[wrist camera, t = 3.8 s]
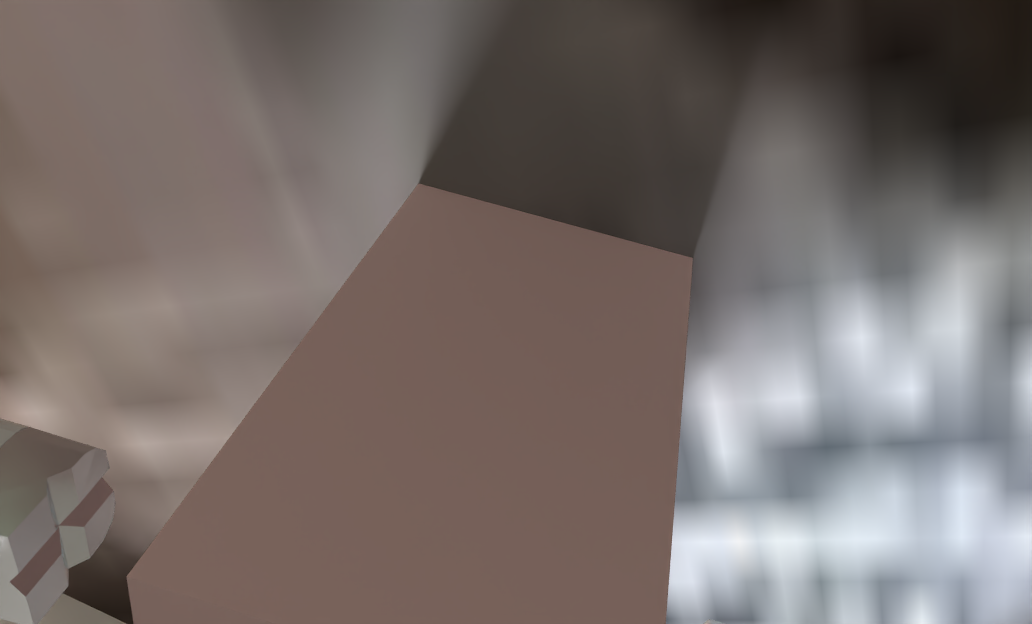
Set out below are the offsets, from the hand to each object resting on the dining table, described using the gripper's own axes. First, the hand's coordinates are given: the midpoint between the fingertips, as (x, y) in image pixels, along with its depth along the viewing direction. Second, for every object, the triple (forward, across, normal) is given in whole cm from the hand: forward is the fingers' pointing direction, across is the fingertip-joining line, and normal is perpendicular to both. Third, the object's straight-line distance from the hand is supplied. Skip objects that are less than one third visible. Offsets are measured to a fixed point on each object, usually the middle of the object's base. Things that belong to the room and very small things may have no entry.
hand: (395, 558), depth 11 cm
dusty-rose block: (+5, -1, 0) cm, 5 cm away
